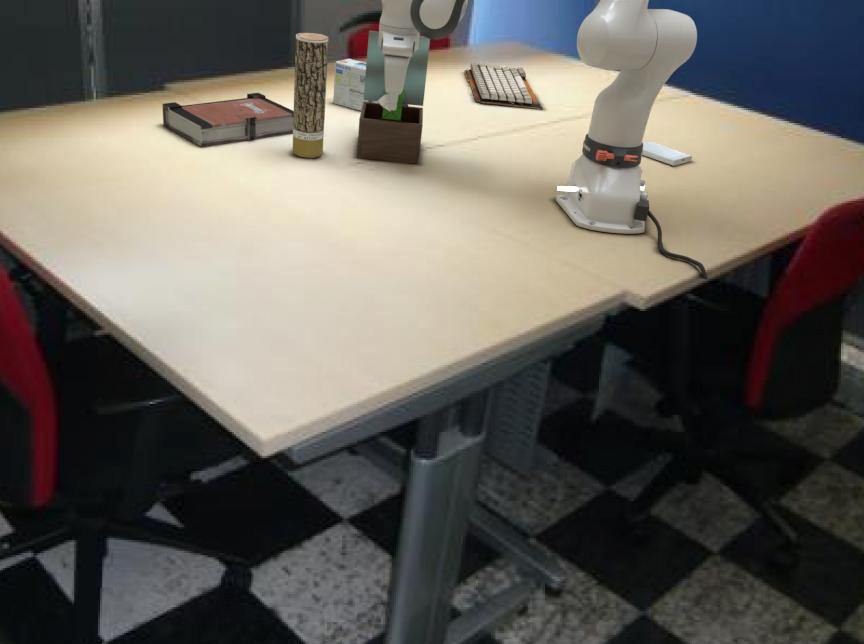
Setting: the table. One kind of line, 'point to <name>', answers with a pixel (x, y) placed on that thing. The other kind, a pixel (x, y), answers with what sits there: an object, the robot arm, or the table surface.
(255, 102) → the book
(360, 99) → the light bulb box
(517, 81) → the mechanical keyboard
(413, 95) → the pale blue slab
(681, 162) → the hard drive
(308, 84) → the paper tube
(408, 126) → the case
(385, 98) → the geometric puzzle
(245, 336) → the table surface
